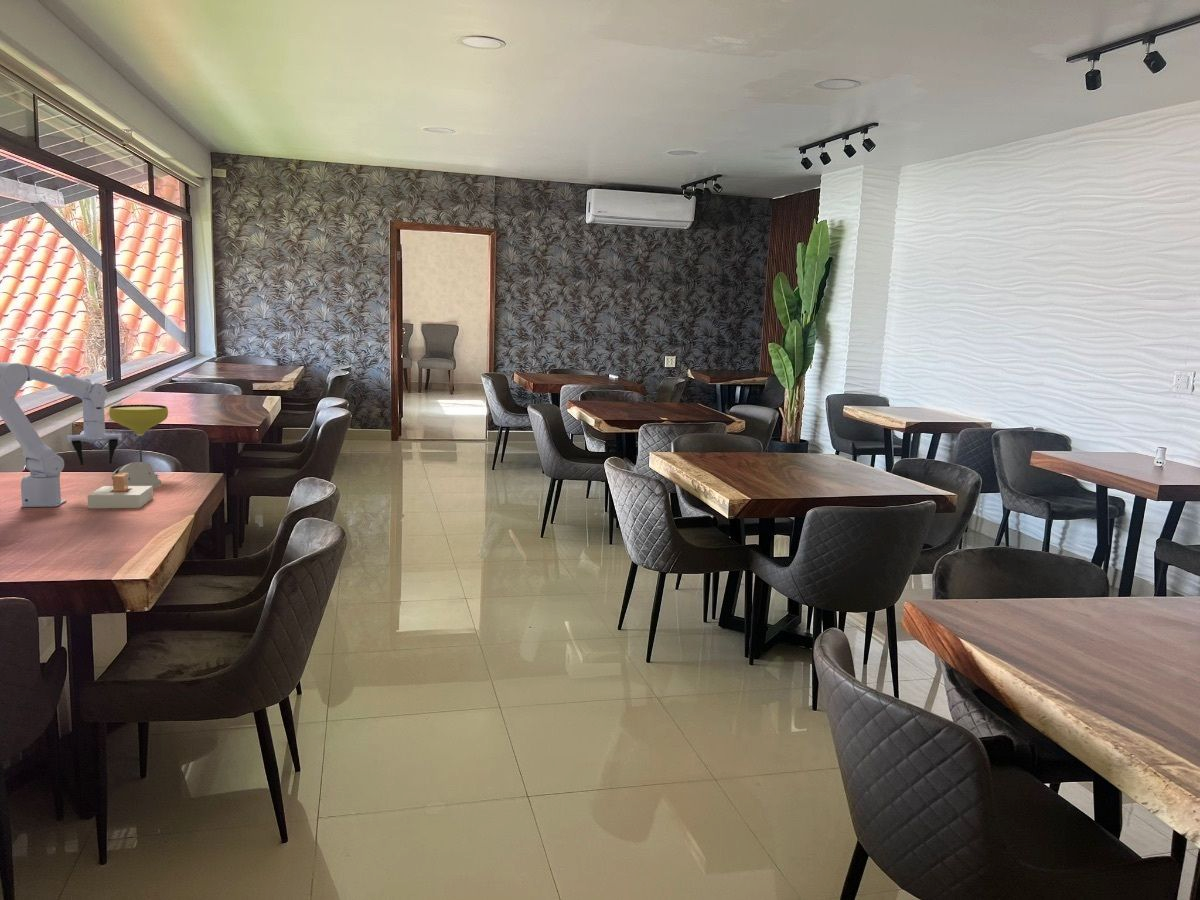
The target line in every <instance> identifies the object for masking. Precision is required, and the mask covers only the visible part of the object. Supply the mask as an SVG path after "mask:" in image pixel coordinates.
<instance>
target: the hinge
mask: <svg viewBox="0 0 1200 900" xmlns="http://www.w3.org/2000/svg"><path fill="white" fill-rule="evenodd" d="M117 473H129V476H128V486H153V487H155V488H158V487H160V486H159V485H162V486H163V482H162V480H161V479H159V478H158V477H156V475H155V474H156V473H155V471H154V469H153V467H152V465H151V464H150V463H149V462H145V461H142V462H140V461H134V462H130V463H129V462H128V463H127V464H124V465H122V466H119V467H118V468H116V470H114V471H113V472H112V476H113V475H115V474H117ZM112 476H111V477H112ZM157 486H158V487H157Z"/></svg>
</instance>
